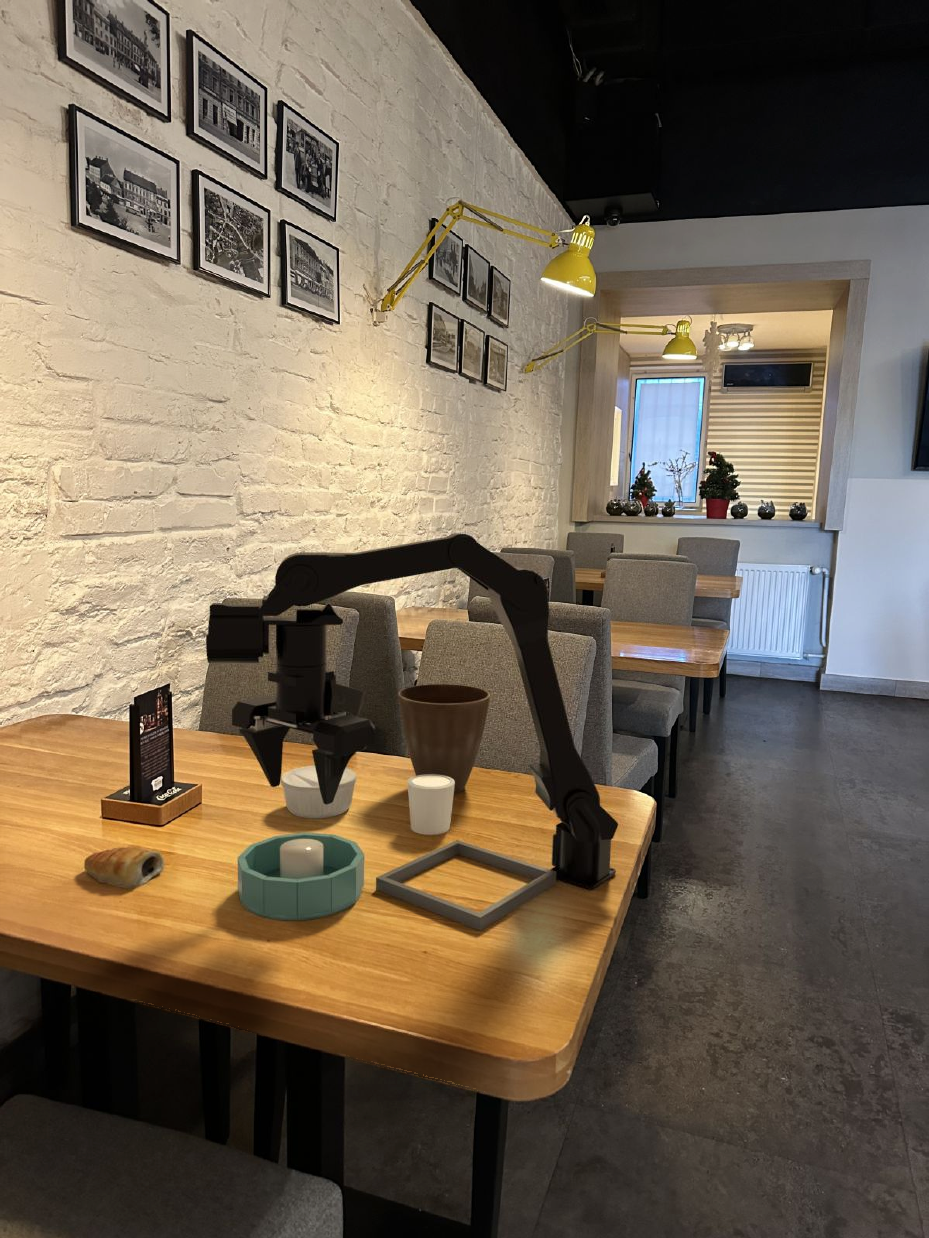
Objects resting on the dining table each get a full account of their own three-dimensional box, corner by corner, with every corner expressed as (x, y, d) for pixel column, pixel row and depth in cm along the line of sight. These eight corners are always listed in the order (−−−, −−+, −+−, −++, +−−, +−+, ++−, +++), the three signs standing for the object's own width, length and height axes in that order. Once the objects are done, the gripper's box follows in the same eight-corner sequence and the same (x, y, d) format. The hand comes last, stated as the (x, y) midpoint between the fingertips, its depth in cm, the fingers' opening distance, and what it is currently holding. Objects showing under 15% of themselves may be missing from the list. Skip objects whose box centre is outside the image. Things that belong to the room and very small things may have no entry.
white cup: (397, 830, 120) (397, 782, 119) (421, 815, 126) (422, 770, 125) (439, 839, 117) (440, 791, 116) (462, 824, 123) (463, 778, 122)
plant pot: (497, 800, 134) (499, 701, 132) (403, 805, 131) (405, 704, 129) (476, 772, 148) (478, 683, 146) (392, 775, 145) (393, 684, 143)
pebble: (332, 886, 100) (332, 845, 100) (299, 900, 96) (299, 858, 96) (303, 874, 103) (303, 835, 103) (271, 888, 99) (271, 847, 99)
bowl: (386, 889, 101) (387, 853, 101) (295, 933, 90) (295, 893, 89) (306, 857, 110) (306, 824, 109) (214, 894, 99) (213, 857, 98)
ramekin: (268, 817, 124) (268, 782, 124) (300, 793, 135) (300, 761, 135) (339, 825, 122) (339, 790, 121) (366, 800, 133) (366, 768, 132)
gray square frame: (556, 883, 104) (556, 871, 104) (480, 930, 92) (480, 917, 91) (456, 850, 113) (456, 839, 113) (375, 889, 101) (376, 877, 101)
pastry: (70, 881, 102) (69, 850, 102) (108, 860, 108) (108, 831, 108) (134, 893, 99) (134, 861, 99) (171, 871, 106) (170, 841, 105)
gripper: (409, 664, 97) (406, 795, 99) (300, 646, 109) (300, 764, 110) (338, 677, 88) (337, 820, 90) (228, 656, 100) (229, 783, 102)
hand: (301, 794), depth 98 cm, fingers open, 9 cm apart
